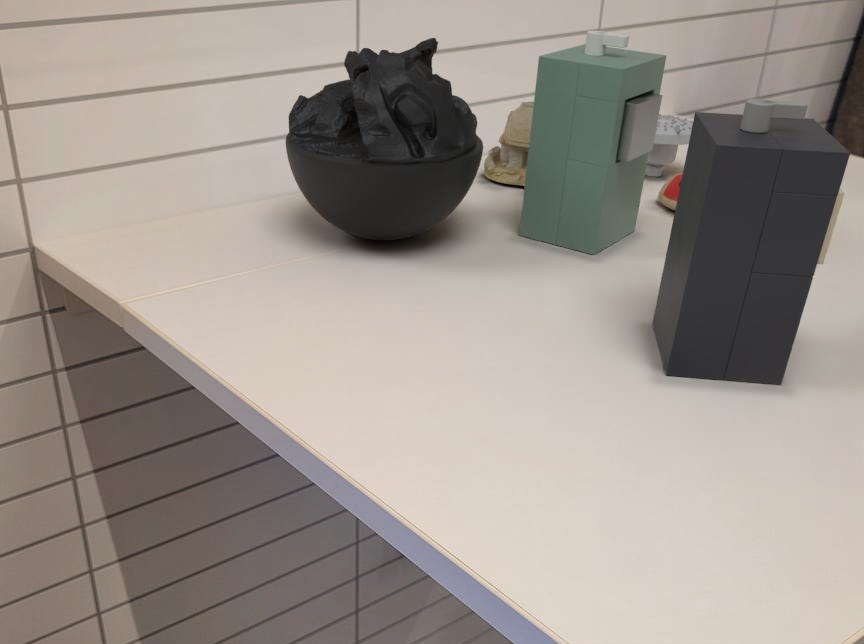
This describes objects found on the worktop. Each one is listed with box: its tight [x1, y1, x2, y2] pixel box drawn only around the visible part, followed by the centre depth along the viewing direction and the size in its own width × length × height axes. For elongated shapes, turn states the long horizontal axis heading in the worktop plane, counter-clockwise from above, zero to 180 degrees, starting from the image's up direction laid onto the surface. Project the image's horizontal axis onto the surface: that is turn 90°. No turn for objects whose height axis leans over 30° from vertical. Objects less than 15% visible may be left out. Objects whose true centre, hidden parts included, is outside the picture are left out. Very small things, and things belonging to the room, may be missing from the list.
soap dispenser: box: [518, 30, 667, 256], centre depth 97 cm, size 9×10×20 cm
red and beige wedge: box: [657, 173, 683, 212], centre depth 110 cm, size 7×10×4 cm
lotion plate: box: [817, 188, 845, 265], centre depth 72 cm, size 1×6×5 cm, turn 173°
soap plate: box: [616, 93, 663, 162], centre depth 94 cm, size 1×6×5 cm, turn 143°
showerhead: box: [645, 113, 693, 178], centre depth 121 cm, size 9×7×10 cm
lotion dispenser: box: [651, 98, 851, 385], centre depth 73 cm, size 9×10×20 cm
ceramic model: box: [483, 101, 534, 187], centre depth 116 cm, size 14×11×10 cm
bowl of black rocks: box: [285, 37, 484, 241], centre depth 95 cm, size 20×20×19 cm
